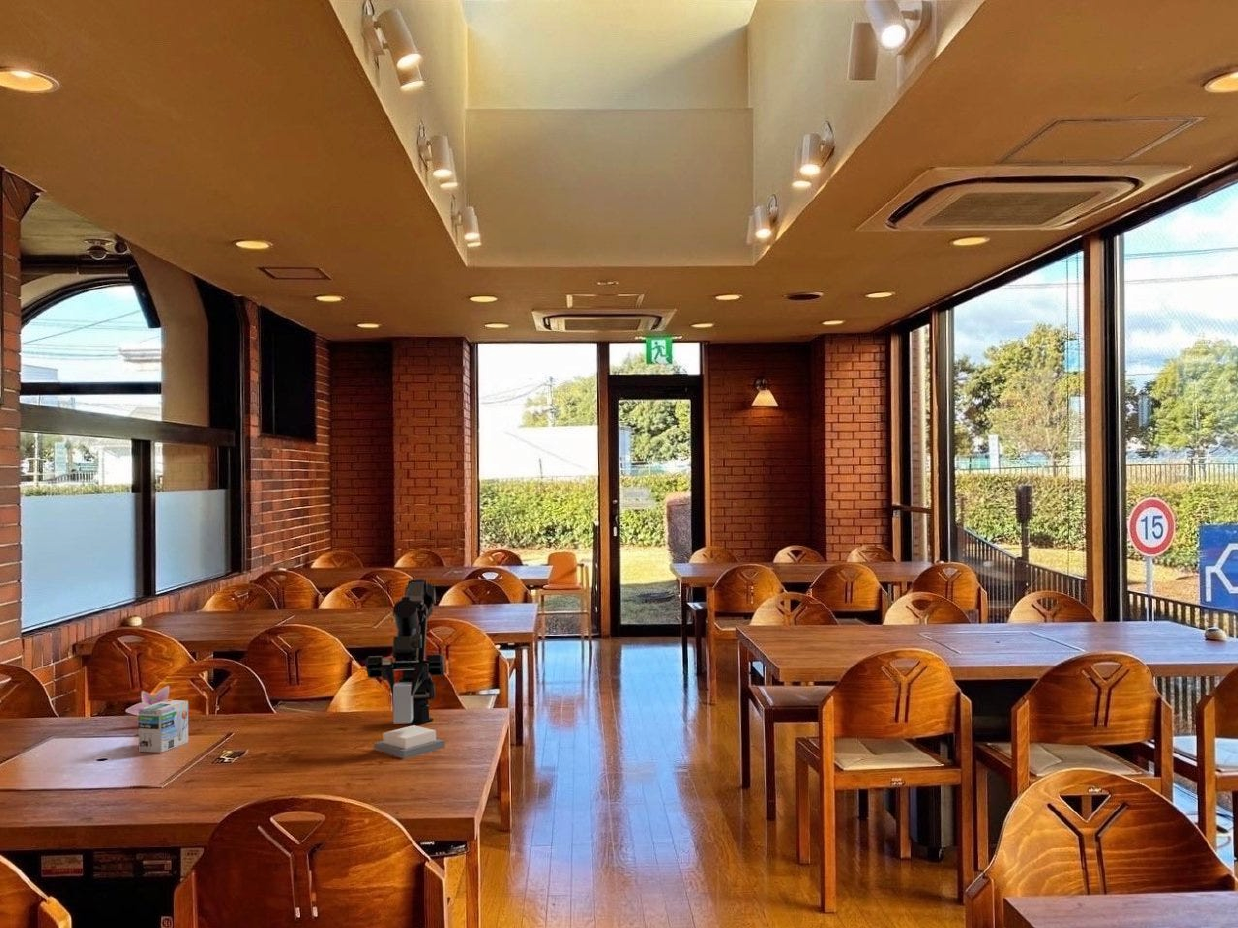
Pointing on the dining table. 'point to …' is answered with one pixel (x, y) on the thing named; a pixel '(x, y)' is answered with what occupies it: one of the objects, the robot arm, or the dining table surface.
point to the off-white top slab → (409, 736)
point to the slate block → (402, 703)
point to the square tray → (410, 751)
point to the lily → (149, 700)
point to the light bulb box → (163, 726)
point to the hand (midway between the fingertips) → (402, 695)
